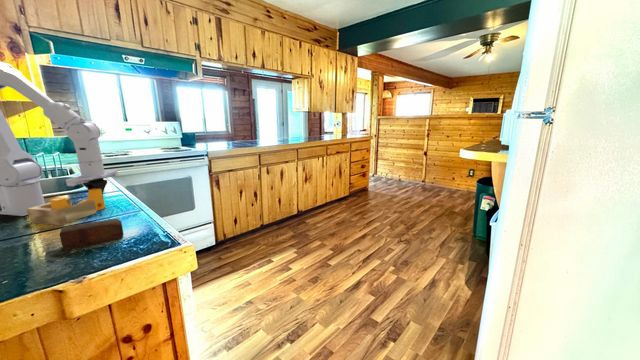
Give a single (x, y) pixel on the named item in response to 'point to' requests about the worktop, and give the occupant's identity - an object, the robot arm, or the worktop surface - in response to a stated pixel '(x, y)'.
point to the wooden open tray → (61, 213)
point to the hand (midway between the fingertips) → (99, 201)
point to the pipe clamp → (92, 195)
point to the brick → (90, 233)
